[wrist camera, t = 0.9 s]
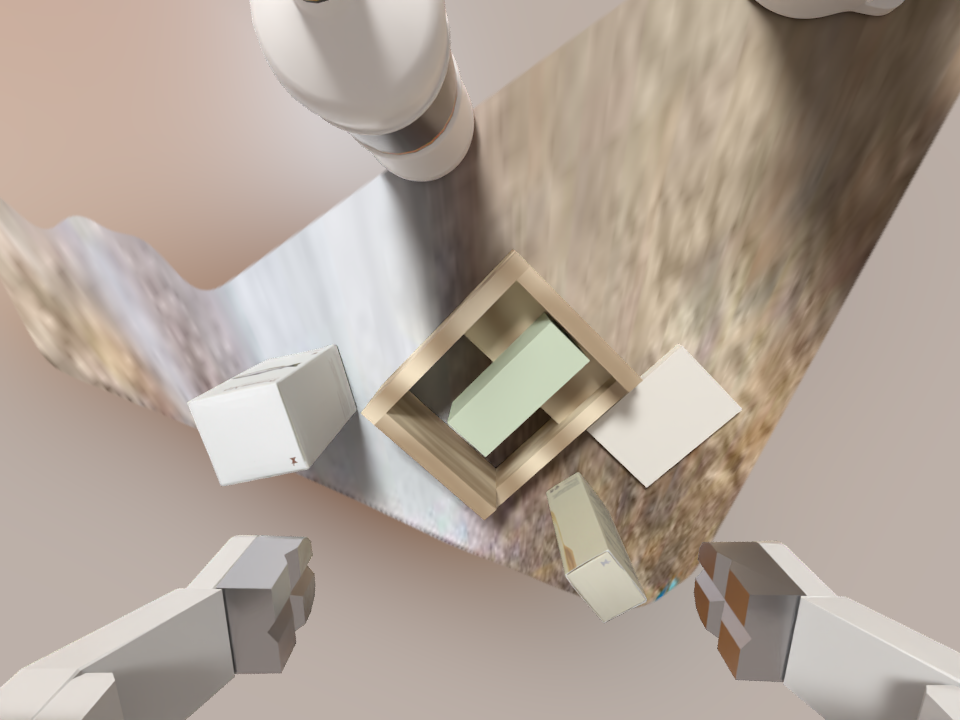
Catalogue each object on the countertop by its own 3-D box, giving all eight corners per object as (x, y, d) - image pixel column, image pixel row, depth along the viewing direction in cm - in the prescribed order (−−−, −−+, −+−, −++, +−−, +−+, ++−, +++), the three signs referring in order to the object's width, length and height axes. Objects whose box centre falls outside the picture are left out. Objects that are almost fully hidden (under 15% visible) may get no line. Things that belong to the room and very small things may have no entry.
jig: (512, 249, 42) (516, 251, 35) (629, 367, 45) (655, 392, 37) (381, 385, 46) (360, 413, 39) (496, 486, 48) (496, 530, 41)
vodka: (482, 172, 40) (454, 12, 11) (380, 191, 41) (109, 85, 12) (464, 54, 38) (370, -523, 9) (356, 76, 39) (-53, -397, 10)
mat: (677, 343, 44) (682, 345, 43) (737, 405, 45) (742, 409, 44) (584, 426, 46) (586, 430, 45) (643, 482, 48) (646, 487, 47)
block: (544, 311, 41) (550, 322, 36) (578, 346, 42) (590, 360, 37) (452, 402, 43) (447, 422, 39) (486, 433, 44) (485, 457, 39)
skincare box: (544, 491, 48) (560, 573, 37) (579, 469, 48) (607, 546, 36) (577, 534, 50) (603, 627, 38) (612, 514, 49) (649, 602, 37)
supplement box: (337, 341, 45) (279, 380, 33) (358, 411, 47) (310, 473, 34) (266, 356, 45) (183, 400, 33) (290, 424, 47) (219, 490, 35)
